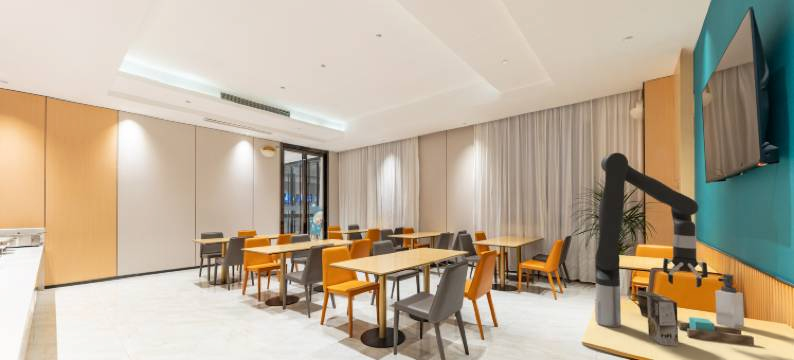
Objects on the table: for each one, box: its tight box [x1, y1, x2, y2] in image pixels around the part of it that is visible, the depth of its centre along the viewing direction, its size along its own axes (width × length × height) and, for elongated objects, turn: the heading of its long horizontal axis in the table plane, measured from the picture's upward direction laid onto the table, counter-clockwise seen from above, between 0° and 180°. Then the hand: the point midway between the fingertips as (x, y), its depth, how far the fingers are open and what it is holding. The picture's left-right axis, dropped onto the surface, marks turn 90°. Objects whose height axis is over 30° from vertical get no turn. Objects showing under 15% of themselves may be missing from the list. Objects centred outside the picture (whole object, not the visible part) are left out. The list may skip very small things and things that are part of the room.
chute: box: [678, 321, 755, 346], centre depth 140 cm, size 20×10×3 cm, turn 69°
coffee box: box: [647, 295, 679, 347], centre depth 135 cm, size 9×6×16 cm
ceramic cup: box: [628, 291, 662, 318], centre depth 165 cm, size 13×10×10 cm
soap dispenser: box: [715, 273, 745, 329], centre depth 153 cm, size 6×9×22 cm
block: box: [688, 316, 715, 332], centre depth 141 cm, size 6×6×6 cm
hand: (684, 285), depth 144 cm, fingers open, 8 cm apart
